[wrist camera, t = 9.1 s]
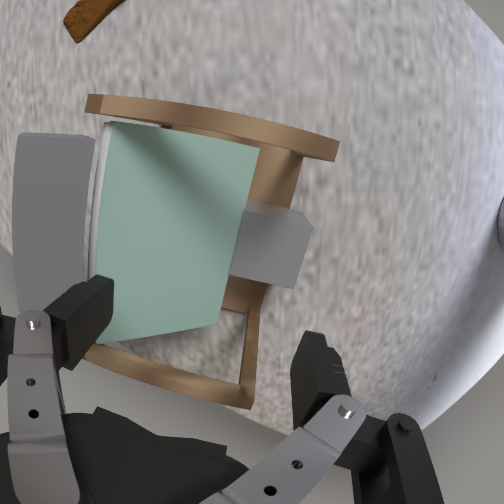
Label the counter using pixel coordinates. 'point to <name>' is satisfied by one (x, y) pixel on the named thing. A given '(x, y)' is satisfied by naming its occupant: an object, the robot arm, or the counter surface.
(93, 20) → the primitive tool
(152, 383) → the wooden box frame
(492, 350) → the counter surface
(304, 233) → the stone
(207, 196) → the trapdoor
